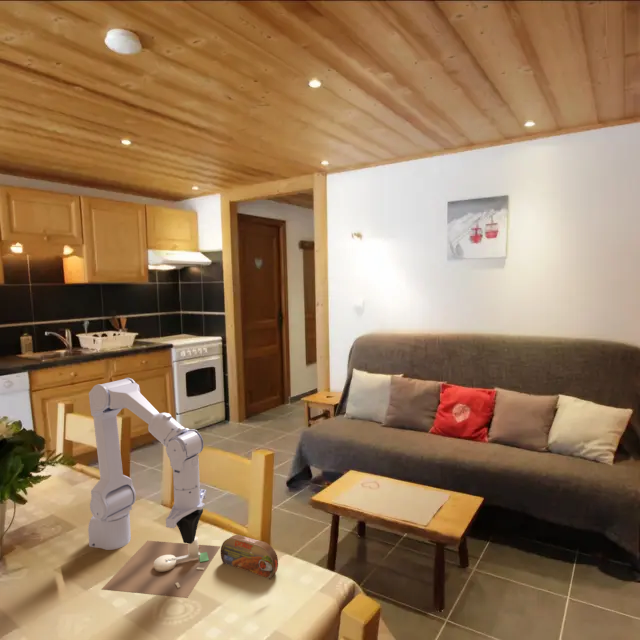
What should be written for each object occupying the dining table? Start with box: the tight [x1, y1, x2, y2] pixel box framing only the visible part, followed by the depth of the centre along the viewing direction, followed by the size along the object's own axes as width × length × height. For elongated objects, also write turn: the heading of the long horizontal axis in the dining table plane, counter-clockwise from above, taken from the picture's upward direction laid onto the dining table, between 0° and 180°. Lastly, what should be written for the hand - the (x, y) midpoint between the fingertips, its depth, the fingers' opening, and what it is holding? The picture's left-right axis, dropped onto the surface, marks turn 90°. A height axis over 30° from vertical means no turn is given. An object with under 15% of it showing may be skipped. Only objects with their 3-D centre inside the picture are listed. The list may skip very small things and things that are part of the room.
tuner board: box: [101, 540, 222, 599], centre depth 108 cm, size 20×19×2 cm
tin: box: [220, 534, 279, 581], centre depth 106 cm, size 15×3×8 cm, turn 62°
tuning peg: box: [154, 535, 200, 572], centre depth 108 cm, size 10×5×5 cm, turn 110°
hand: (188, 541), depth 106 cm, fingers closed
